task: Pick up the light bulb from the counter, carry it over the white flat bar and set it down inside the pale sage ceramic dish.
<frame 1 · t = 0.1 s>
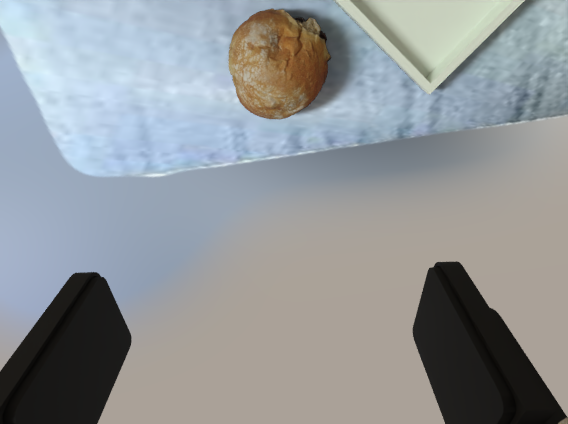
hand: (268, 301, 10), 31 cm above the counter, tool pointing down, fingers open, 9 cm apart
bread roll: (279, 61, 36), on the counter
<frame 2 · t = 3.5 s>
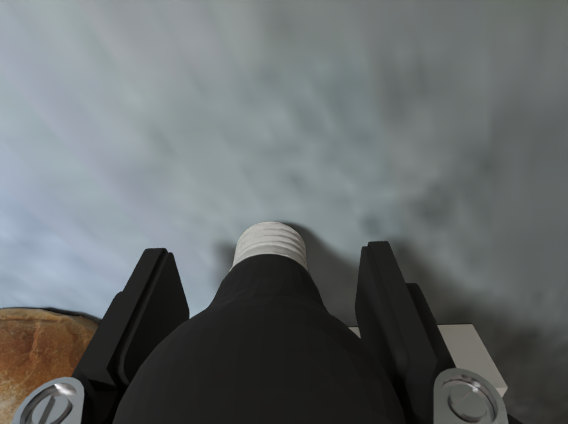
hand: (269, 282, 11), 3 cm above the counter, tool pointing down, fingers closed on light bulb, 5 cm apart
light bulb: (271, 231, 13), on the counter, touching gripper
bread roll: (70, 359, 18), on the counter
white flat bar: (321, 333, 16), on the counter
when the fingers open (5 cm above the counter, at t = 9.1 s): light bulb drops 1 cm, resting on dish.
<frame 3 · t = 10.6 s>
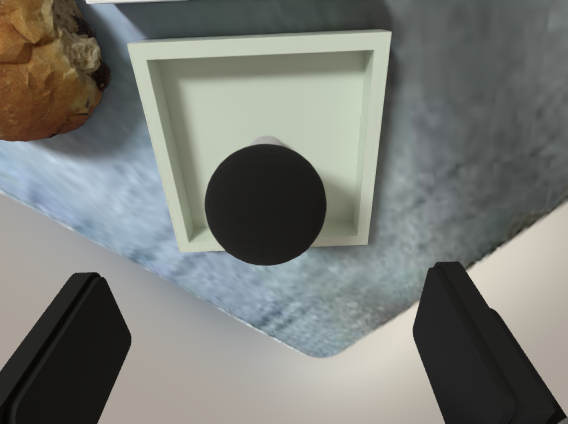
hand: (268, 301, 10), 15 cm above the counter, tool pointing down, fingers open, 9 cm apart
light bulb: (267, 146, 23), resting on dish
dish: (268, 146, 23), on the counter
bread roll: (27, 45, 20), on the counter
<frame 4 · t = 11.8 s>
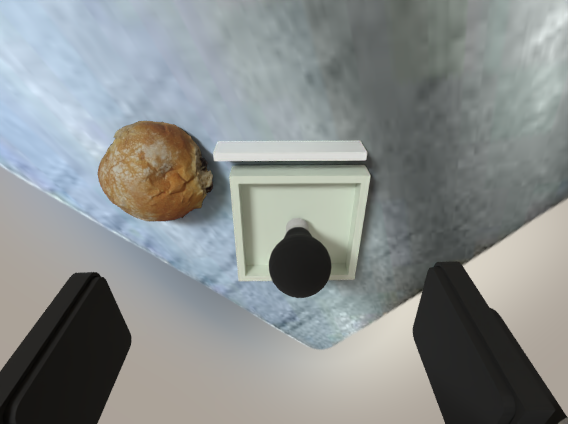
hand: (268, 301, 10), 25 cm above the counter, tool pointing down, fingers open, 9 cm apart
light bulb: (296, 221, 38), resting on dish
dish: (297, 220, 38), on the counter
bread roll: (164, 165, 35), on the counter
white flat bar: (289, 144, 33), on the counter
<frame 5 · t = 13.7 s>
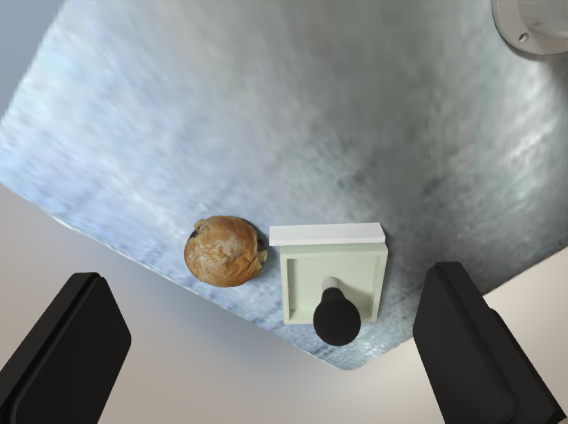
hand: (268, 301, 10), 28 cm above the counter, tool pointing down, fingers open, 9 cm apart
light bulb: (329, 278, 48), resting on dish
dish: (329, 277, 48), on the counter
bread roll: (229, 242, 45), on the counter
white flat bar: (324, 227, 43), on the counter
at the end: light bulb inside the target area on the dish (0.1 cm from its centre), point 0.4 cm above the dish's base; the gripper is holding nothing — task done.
